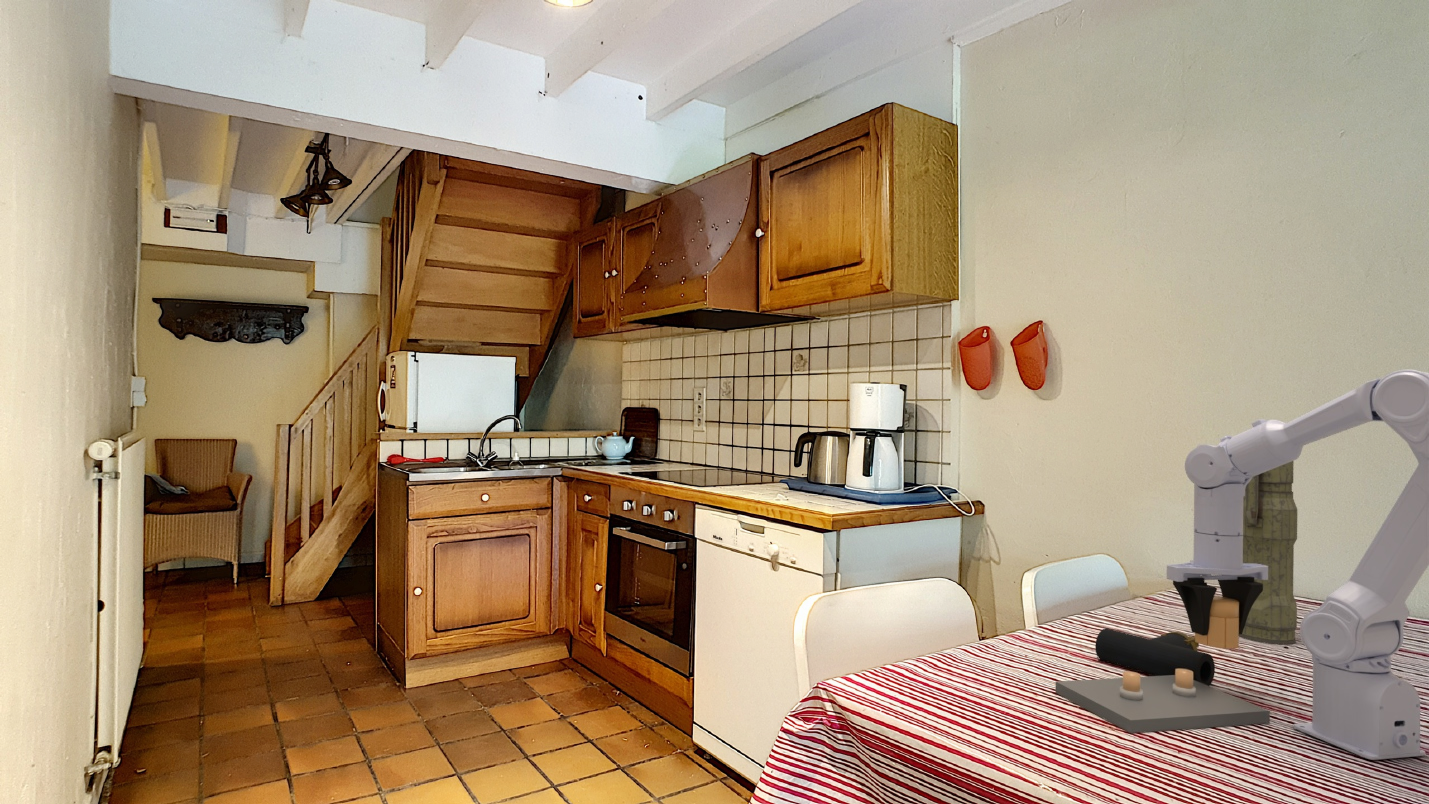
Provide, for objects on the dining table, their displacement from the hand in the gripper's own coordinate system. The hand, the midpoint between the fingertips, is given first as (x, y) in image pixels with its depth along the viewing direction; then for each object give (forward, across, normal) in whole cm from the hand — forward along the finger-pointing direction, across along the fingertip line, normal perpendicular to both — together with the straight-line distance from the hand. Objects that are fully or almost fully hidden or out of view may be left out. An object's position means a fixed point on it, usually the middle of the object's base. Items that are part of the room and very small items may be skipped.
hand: (1216, 632), depth 109 cm
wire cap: (+1, 0, 0) cm, 1 cm away
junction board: (+8, +12, +3) cm, 15 cm away
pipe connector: (+9, -2, -11) cm, 14 cm away
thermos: (+9, -34, -25) cm, 43 cm away
